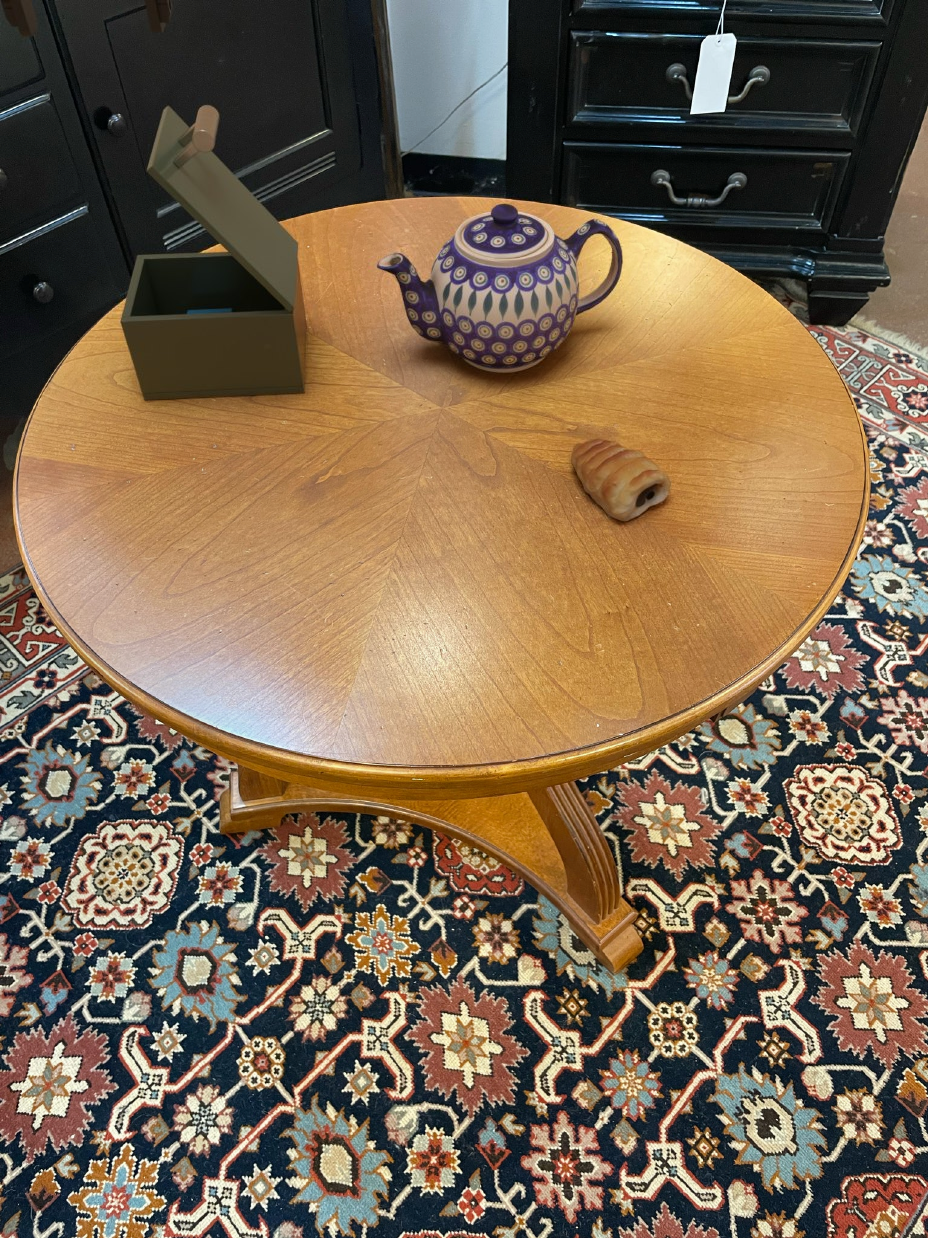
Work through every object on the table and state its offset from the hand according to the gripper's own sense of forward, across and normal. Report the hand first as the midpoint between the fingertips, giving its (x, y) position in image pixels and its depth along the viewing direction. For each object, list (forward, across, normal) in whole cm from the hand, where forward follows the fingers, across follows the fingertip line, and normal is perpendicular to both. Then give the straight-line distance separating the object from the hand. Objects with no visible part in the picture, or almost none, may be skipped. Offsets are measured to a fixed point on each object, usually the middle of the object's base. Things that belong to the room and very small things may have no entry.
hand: (94, 30), depth 64 cm
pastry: (+34, -38, +11) cm, 52 cm away
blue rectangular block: (+33, 0, -11) cm, 35 cm away
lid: (+18, -5, -11) cm, 22 cm away
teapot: (+34, -30, -12) cm, 47 cm away
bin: (+34, -2, -11) cm, 36 cm away
